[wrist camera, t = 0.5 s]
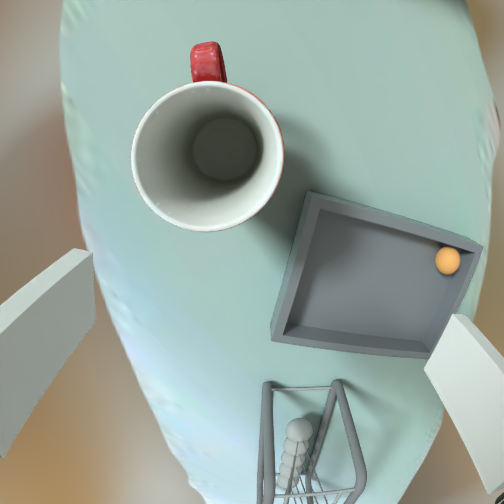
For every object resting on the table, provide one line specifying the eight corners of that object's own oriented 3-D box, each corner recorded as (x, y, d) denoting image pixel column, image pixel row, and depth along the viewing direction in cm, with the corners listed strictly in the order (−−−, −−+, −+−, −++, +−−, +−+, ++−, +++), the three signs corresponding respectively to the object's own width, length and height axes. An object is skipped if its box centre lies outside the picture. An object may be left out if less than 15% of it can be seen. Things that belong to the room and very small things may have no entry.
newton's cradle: (309, 476, 49) (317, 550, 33) (256, 477, 50) (256, 553, 33) (340, 372, 39) (371, 482, 22) (262, 374, 39) (264, 492, 23)
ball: (435, 240, 32) (449, 249, 29) (454, 245, 32) (468, 255, 29) (426, 265, 33) (439, 276, 30) (445, 270, 33) (458, 280, 30)
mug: (272, 194, 31) (283, 233, 18) (183, 195, 31) (135, 234, 19) (272, 70, 27) (283, 22, 14) (180, 74, 27) (130, 35, 14)
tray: (306, 190, 31) (312, 195, 28) (468, 238, 32) (483, 246, 29) (270, 324, 36) (271, 341, 33) (422, 345, 38) (431, 359, 34)
